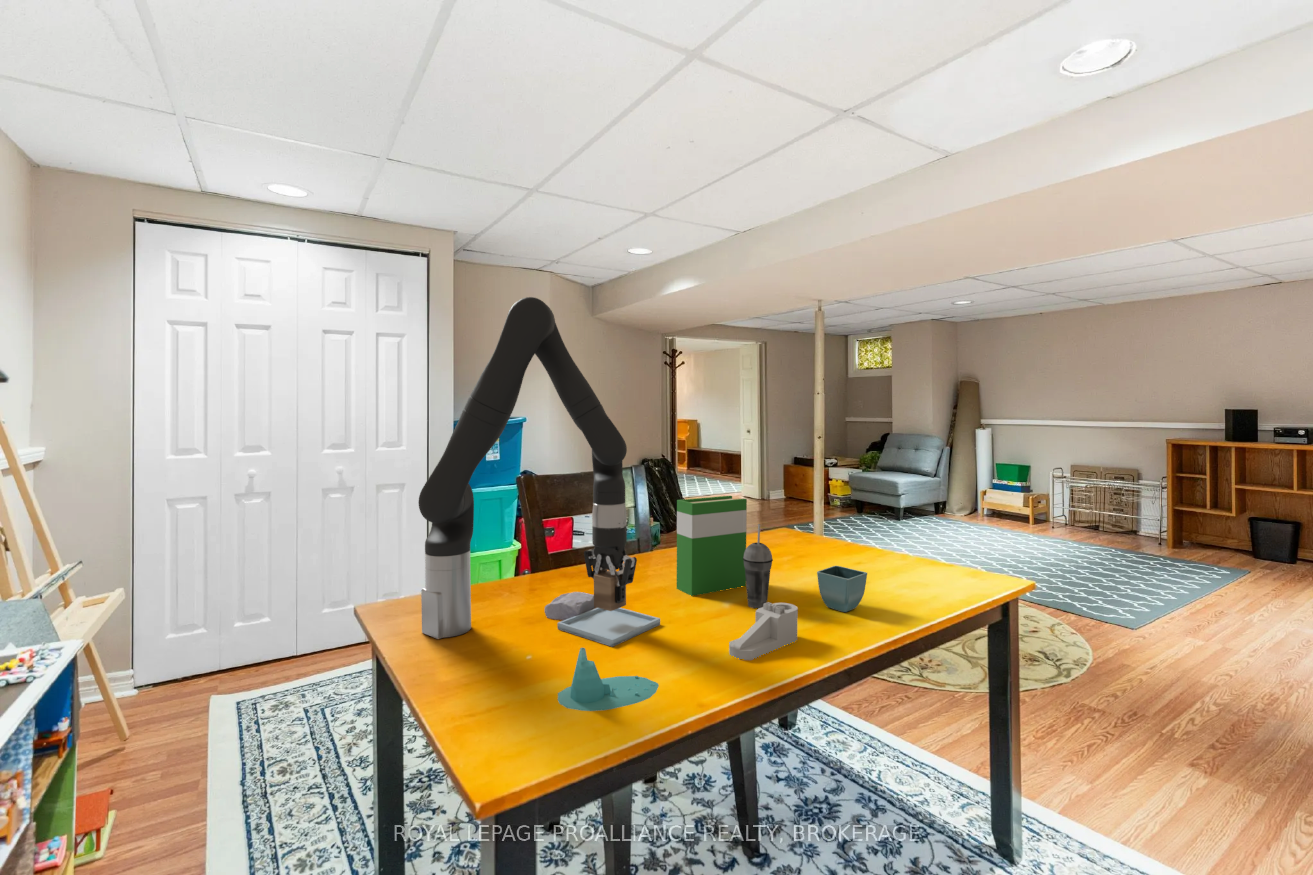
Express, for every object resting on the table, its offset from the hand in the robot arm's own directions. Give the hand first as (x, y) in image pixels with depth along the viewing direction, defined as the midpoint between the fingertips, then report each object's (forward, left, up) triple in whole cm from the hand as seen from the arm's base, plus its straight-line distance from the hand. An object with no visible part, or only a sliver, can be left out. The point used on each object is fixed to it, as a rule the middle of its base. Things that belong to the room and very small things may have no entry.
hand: (609, 599), depth 130 cm
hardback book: (+39, -2, -6) cm, 40 cm away
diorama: (-23, -20, -7) cm, 31 cm away
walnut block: (0, 0, -1) cm, 1 cm away
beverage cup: (+33, -19, -6) cm, 38 cm away
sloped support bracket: (+12, -32, -7) cm, 34 cm away
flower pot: (+44, -36, -6) cm, 57 cm away
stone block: (+2, +14, -7) cm, 16 cm away
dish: (0, 0, -6) cm, 6 cm away
